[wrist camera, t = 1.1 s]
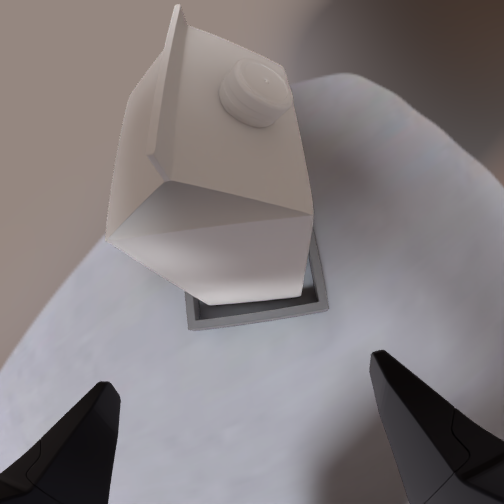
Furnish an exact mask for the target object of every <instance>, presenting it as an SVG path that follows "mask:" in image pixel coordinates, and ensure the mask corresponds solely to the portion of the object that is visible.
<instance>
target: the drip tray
mask: <svg viewBox="0 0 504 504" xmlns="http://www.w3.org/2000/svg"><path fill="white" fill-rule="evenodd" d="M308 256H309V261H310V266H311V271H312V277H313V282H314V287H315V293H316V299H317V302H316V303H310V304H304V305H299V306H293V307H287V308H281V309H274V310H268V311H262V312H255V313H248V314H241V315H234V316H227V317H220V318H212V319H204V320H201V319H200V310H199V300H198V299H197V298H196V297H194V296H192V295H191V294H189V293H187V292H186V291H185V301H186V312H187V322H188V330H192V331H199V330H207V329H216V328H223V327H231V326H238V325H246V324H253V323H259V322H266V321H272V320H279V319H285V318H291V317H297V316H303V315H309V314H314V313H320V312H325V311H327V310H328V309H329V305H328V300H327V294H326V289H325V284H324V278H323V273H322V268H321V263H320V258H319V254H318V249H317V244H316V239H315V235H314V230H313V226H312V233H311V240H310V246H309V252H308Z"/></svg>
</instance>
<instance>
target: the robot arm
mask: <svg viewBox="0 0 504 504" xmlns="http://www.w3.org/2000/svg"><path fill="white" fill-rule="evenodd" d="M370 377H371V381H372V385H373V389H374V393H375V397H376V402H377V406H378V410H379V414H380V417H381V420H382V423H383V425H384V428H385V431H386V434H387V437H388V440H389V442H390V445H391V448H392V451H393V454H394V457H395V460H396V463H397V466H398V469H399V472H400V475H401V478H402V481H403V484H404V487H405V490H406V494H407V497H408V500H409V503H410V504H504V441H502V440H501V439H499V438H498V437H496V436H494V435H493V434H491V433H489V432H488V431H486V430H485V429H483V428H482V427H480V426H479V425H477V424H476V423H474V422H473V421H472V420H470V419H469V418H468V417H466V416H465V415H464V414H462V413H461V412H460V411H459V410H458V409H456V408H455V409H454V406H453V405H451V404H450V403H449V402H448V401H446V400H445V399H444V398H443V397H442V396H440V395H439V394H438V393H437V392H435V391H434V390H433V389H432V388H431V387H429V386H428V385H427V384H426V383H424V382H423V381H422V380H421V379H419V378H418V377H417V376H416V375H415V374H413V373H412V372H411V371H410V370H408V369H407V368H406V367H405V366H403V365H402V364H401V363H400V362H399V361H397V360H396V359H395V358H394V357H392V356H391V355H390V354H389V353H387V352H386V351H385V350H379V351H375V352H372V354H371V360H370ZM120 403H121V400H120V396H119V394H118V393H117V391H116V390H115V388H114V387H113V385H112V384H111V383H110V382H108V381H101V382H98V383H97V384H96V385H95V386H94V387H93V388H92V389H91V390H90V391H89V392H88V393H87V394H86V395H85V396H84V397H83V398H82V399H81V400H80V401H79V402H78V403H77V404H76V405H74V406H73V407H72V408H71V409H70V410H69V411H68V412H67V413H66V414H65V415H64V416H63V417H62V418H61V419H60V420H59V421H58V422H57V423H56V424H55V425H54V426H53V427H52V428H51V429H50V430H49V431H48V432H47V433H46V434H45V435H44V436H43V437H42V438H41V439H40V440H39V441H38V442H37V443H36V444H35V445H34V446H32V447H31V448H30V449H29V450H28V451H27V452H26V453H25V454H24V455H23V456H21V457H20V458H19V459H18V460H17V461H15V462H14V463H13V464H12V465H10V466H9V467H8V468H7V469H5V470H4V471H3V472H2V473H0V504H108V499H109V491H110V484H111V476H112V470H113V463H114V457H115V450H116V444H117V438H118V428H119V415H120Z"/></svg>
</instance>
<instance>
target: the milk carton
mask: <svg viewBox="0 0 504 504" xmlns="http://www.w3.org/2000/svg"><path fill="white" fill-rule="evenodd" d="M313 218H314V209H313V200H312V194H311V187H310V182H309V176H308V171H307V165H306V160H305V155H304V150H303V145H302V140H301V136H300V131H299V126H298V121H297V117H296V112H295V108H294V103H293V94H292V91H291V88H290V86H289V83H288V79H287V76H286V72H285V70H284V68H283V67H282V66H281V65H280V64H277V63H276V62H274V61H272V60H270V59H268V58H266V57H264V56H262V55H259V54H257V53H255V52H253V51H251V50H249V49H246V48H244V47H242V46H239V45H237V44H235V43H232V42H230V41H228V40H226V39H223V38H220V37H218V36H216V35H213V34H211V33H208V32H205V31H203V30H200V29H197V28H194V27H192V26H189V25H187V23H186V20H185V16H184V13H183V11H182V7H181V4H178V5H175V7H174V11H173V14H172V18H171V22H170V26H169V30H168V34H167V38H166V42H165V46H164V50H163V51H162V52H161V53H160V55H159V56H158V57H157V59H156V60H155V61H154V63H153V64H152V65H151V67H150V68H149V69H148V71H147V72H146V73H145V75H144V76H143V77H142V79H141V80H140V82H139V83H138V84H137V86H136V87H135V89H134V90H133V92H132V93H131V95H130V96H129V99H128V103H127V107H126V111H125V116H124V120H123V124H122V129H121V134H120V138H119V144H118V149H117V154H116V160H115V166H114V172H113V178H112V185H111V191H110V199H109V207H108V215H107V224H106V236H105V241H107V242H108V243H110V244H111V245H113V246H114V247H116V248H117V249H119V250H121V251H122V252H124V253H125V254H127V255H128V256H130V257H131V258H133V259H134V260H136V261H137V262H139V263H141V264H142V265H144V266H145V267H147V268H148V269H150V270H152V271H153V272H155V273H156V274H158V275H160V276H161V277H163V278H164V279H166V280H168V281H169V282H171V283H172V284H174V285H176V286H177V287H179V288H181V289H182V290H184V291H186V292H187V293H189V294H191V295H192V296H194V297H196V298H197V299H199V300H201V301H202V302H204V303H206V304H208V305H222V304H234V303H246V302H257V301H267V300H277V299H287V298H296V297H301V293H302V287H303V282H304V276H305V270H306V264H307V258H308V252H309V246H310V240H311V233H312V226H313Z"/></svg>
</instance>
